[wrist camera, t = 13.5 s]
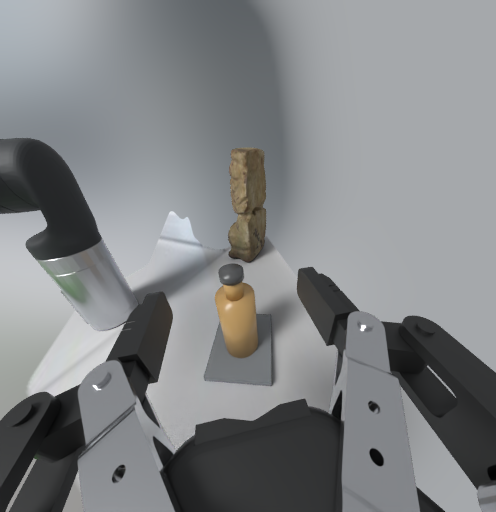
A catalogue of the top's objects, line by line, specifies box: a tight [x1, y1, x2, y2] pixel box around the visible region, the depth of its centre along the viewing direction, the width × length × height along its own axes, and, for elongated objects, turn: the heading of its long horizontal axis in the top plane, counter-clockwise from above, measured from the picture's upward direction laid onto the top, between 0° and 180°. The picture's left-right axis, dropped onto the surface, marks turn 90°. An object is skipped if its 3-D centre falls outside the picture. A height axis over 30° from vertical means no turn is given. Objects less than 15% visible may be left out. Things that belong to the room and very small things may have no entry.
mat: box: [204, 314, 271, 386], centre depth 31 cm, size 10×12×1 cm
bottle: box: [215, 264, 258, 358], centre depth 27 cm, size 6×6×15 cm
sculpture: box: [228, 148, 266, 262], centre depth 51 cm, size 12×9×30 cm
